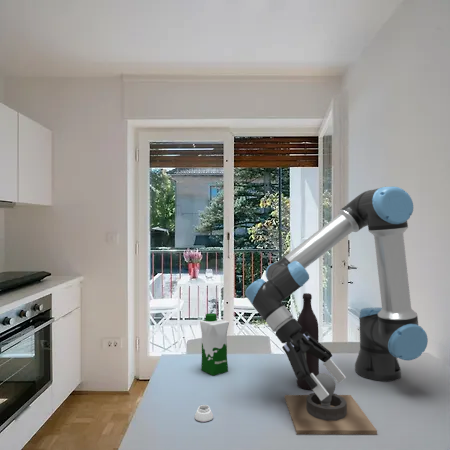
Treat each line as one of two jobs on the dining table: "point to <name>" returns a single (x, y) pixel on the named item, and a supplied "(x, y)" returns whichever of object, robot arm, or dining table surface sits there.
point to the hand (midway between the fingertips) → (334, 388)
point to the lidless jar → (203, 413)
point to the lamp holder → (328, 415)
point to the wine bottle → (311, 326)
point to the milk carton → (214, 345)
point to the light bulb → (326, 387)
